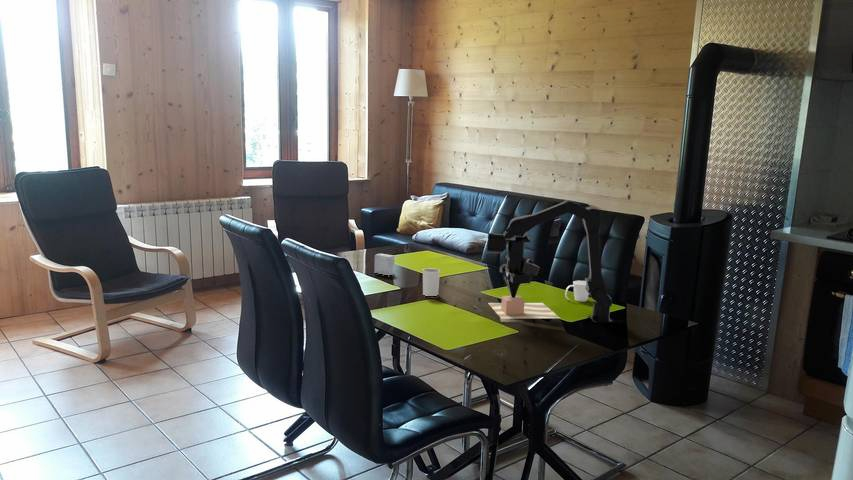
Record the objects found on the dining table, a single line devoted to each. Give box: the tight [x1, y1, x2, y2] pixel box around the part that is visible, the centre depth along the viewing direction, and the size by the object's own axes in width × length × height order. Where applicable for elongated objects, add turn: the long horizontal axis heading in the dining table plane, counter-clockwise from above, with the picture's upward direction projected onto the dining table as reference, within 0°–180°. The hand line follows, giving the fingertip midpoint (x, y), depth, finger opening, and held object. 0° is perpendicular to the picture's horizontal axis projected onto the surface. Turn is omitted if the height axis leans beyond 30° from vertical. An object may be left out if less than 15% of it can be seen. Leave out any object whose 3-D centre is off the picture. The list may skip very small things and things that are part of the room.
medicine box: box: [373, 253, 396, 277], centre depth 295 cm, size 8×4×9 cm, turn 58°
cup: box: [564, 280, 590, 303], centre depth 259 cm, size 7×10×8 cm
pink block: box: [501, 295, 525, 314], centre depth 239 cm, size 6×6×5 cm
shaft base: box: [487, 302, 561, 323], centre depth 242 cm, size 20×21×5 cm
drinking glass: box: [422, 267, 441, 297], centre depth 262 cm, size 7×7×10 cm
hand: (513, 297), depth 238 cm, fingers closed, pressing on pink block
